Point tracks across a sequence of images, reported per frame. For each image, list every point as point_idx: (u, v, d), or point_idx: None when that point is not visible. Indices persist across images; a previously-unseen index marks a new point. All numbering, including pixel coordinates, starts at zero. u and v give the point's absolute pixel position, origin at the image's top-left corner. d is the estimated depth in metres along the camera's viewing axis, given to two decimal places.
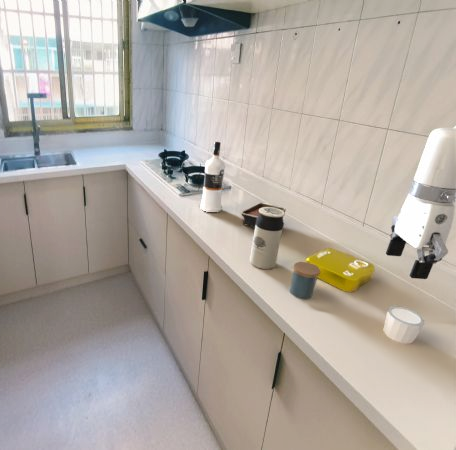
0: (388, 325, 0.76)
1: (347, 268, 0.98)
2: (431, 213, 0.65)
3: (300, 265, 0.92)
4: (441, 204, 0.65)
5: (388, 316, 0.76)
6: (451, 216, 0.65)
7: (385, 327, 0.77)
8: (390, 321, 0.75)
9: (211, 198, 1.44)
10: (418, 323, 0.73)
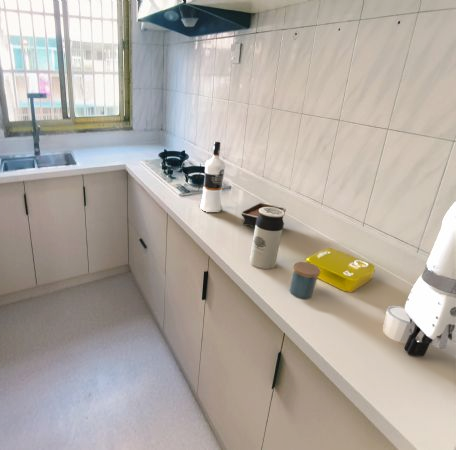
0: (387, 324, 0.76)
1: (347, 268, 0.98)
2: (446, 305, 0.62)
3: (300, 265, 0.92)
4: None
5: (387, 315, 0.76)
6: None
7: (384, 326, 0.77)
8: (389, 320, 0.76)
9: (211, 198, 1.44)
10: None
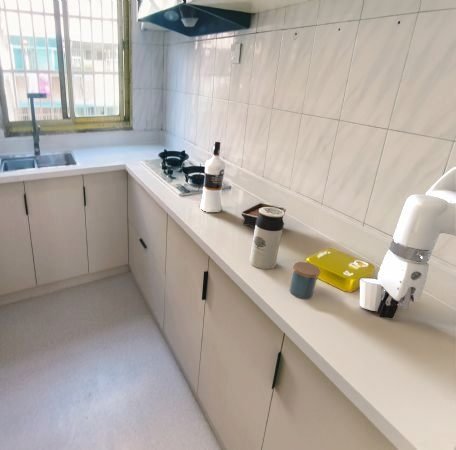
0: (362, 291, 0.87)
1: (347, 268, 0.98)
2: (407, 270, 0.73)
3: (300, 265, 0.92)
4: (416, 262, 0.72)
5: (361, 283, 0.87)
6: (425, 273, 0.72)
7: (360, 295, 0.88)
8: (363, 286, 0.87)
9: (211, 198, 1.44)
10: None
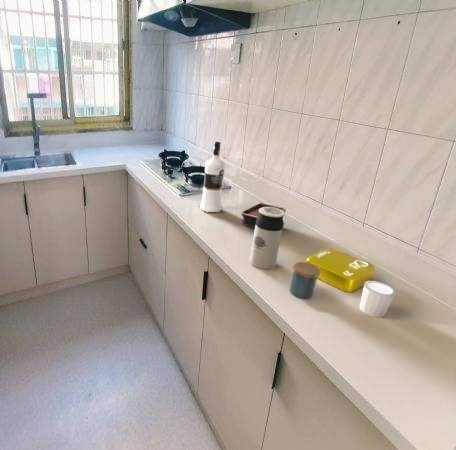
0: (364, 297, 0.86)
1: (347, 268, 0.98)
2: None
3: (300, 265, 0.92)
4: None
5: (364, 289, 0.86)
6: None
7: (362, 299, 0.87)
8: (366, 293, 0.85)
9: (211, 198, 1.44)
10: (390, 294, 0.83)
